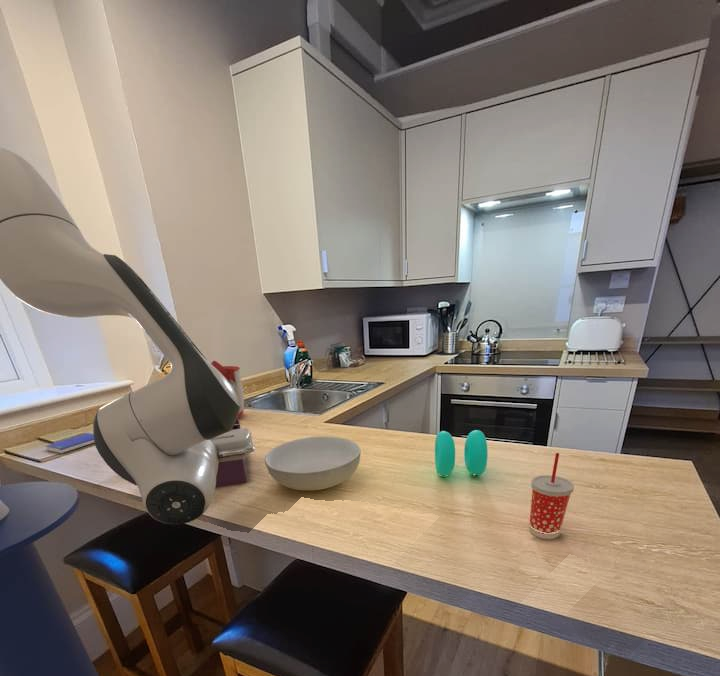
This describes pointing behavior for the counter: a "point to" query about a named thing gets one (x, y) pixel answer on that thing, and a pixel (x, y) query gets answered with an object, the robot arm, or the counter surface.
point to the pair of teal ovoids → (472, 453)
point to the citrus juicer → (233, 382)
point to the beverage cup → (549, 503)
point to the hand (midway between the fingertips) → (198, 435)
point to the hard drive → (71, 443)
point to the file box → (231, 470)
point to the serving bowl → (313, 462)
